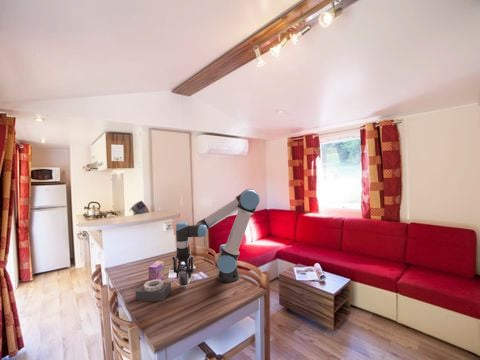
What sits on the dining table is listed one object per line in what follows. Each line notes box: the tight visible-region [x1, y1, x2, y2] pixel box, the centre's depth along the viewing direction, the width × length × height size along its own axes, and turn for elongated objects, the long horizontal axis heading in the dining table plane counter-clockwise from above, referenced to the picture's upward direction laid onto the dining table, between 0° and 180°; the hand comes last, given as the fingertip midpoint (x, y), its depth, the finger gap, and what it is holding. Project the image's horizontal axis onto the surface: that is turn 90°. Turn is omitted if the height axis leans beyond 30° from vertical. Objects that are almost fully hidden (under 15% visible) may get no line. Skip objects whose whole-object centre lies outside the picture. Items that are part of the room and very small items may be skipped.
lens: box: [179, 267, 188, 286], centre depth 145 cm, size 5×5×9 cm
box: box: [148, 260, 165, 281], centre depth 154 cm, size 10×6×12 cm, turn 168°
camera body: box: [135, 279, 172, 302], centre depth 135 cm, size 16×12×7 cm
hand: (184, 282), depth 145 cm, fingers closed on lens, 5 cm apart
